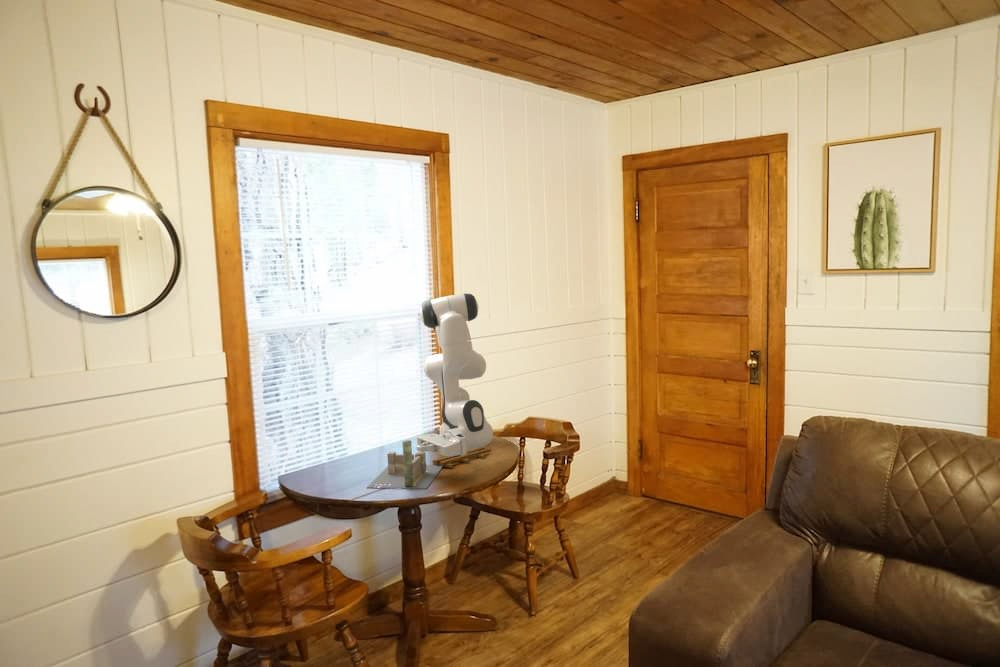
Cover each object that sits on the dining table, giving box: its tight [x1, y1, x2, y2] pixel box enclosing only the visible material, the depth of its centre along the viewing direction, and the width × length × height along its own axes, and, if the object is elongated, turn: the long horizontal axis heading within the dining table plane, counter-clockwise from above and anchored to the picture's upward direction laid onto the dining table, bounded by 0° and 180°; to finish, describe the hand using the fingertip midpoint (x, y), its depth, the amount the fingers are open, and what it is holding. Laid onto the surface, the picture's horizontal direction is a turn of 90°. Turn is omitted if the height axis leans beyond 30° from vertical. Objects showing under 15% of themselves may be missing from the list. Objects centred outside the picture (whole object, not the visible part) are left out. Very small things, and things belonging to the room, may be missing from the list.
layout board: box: [366, 464, 444, 490], centre depth 239 cm, size 26×21×1 cm
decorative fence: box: [432, 446, 492, 469], centre depth 258 cm, size 25×2×10 cm
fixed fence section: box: [386, 451, 415, 474], centre depth 242 cm, size 2×9×8 cm, turn 82°
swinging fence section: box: [402, 439, 427, 486], centre depth 234 cm, size 3×17×15 cm, turn 170°
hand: (418, 448), depth 230 cm, fingers closed
